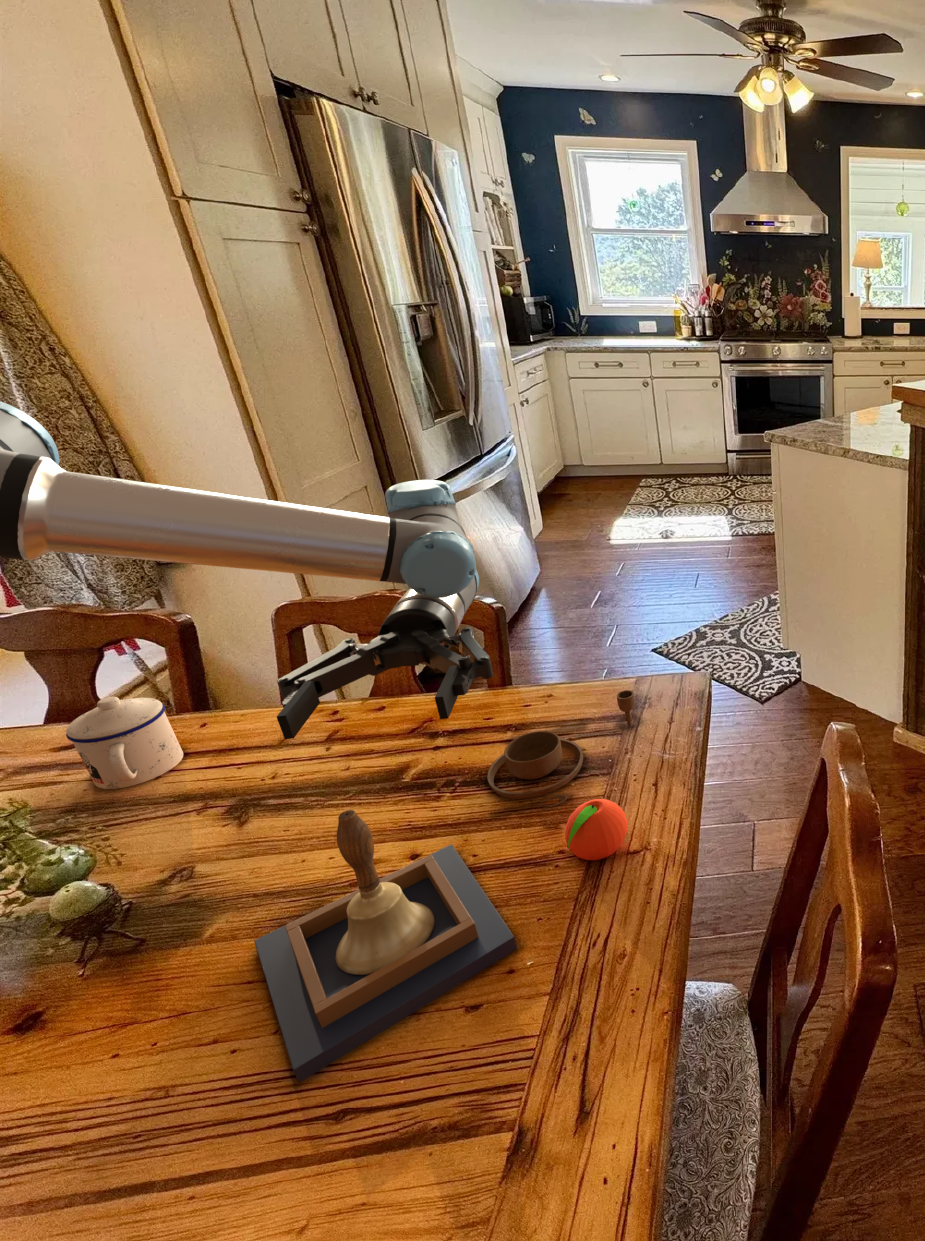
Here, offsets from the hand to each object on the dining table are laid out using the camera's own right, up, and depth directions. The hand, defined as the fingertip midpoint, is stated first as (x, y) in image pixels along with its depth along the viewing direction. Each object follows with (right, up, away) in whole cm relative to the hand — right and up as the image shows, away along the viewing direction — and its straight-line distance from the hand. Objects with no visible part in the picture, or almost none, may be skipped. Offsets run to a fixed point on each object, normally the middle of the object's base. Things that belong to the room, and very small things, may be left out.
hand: (365, 717), depth 71 cm
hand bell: (+2, -22, 0) cm, 23 cm away
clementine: (+18, -19, +14) cm, 30 cm away
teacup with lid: (-48, -13, +23) cm, 55 cm away
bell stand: (+2, -25, +1) cm, 25 cm away
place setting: (+8, -13, +28) cm, 32 cm away
